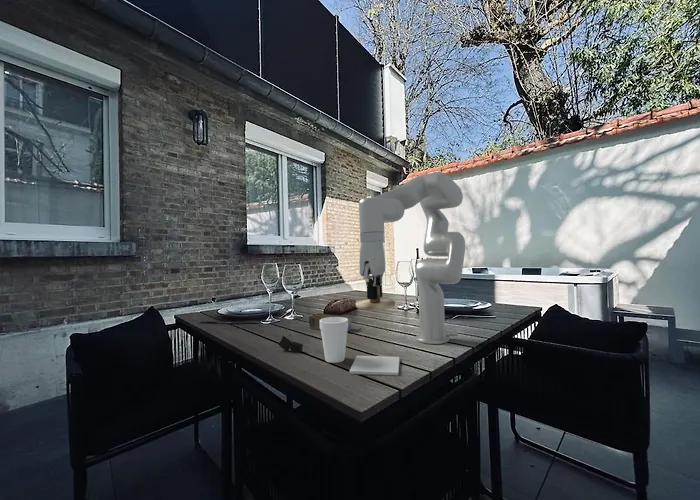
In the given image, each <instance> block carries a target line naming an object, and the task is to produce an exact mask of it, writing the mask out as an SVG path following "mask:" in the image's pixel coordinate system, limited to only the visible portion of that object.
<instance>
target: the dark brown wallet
mask: <svg viewBox="0 0 700 500" xmlns="http://www.w3.org/2000/svg"><path fill="white" fill-rule="evenodd" d="M277 345H278V346H279V347H280V348H282V349H283V351H285V352H288V351H289V350H290V351H292V352H293V353H296V354H297V353H302V352H303V347H304V344H303V343H301V342H295V341H294V340H293V339H292V334H290V333H286V334H283V335H282V338H281V339H280V341H279V343H278V344H277Z"/></svg>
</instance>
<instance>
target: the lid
mask: <svg viewBox="0 0 700 500" xmlns="http://www.w3.org/2000/svg"><path fill="white" fill-rule="evenodd" d="M377 295H378V299H376V300H374V299H362V300H359V301H356V302H355V308H357V309H361V310H362V309H363V310H384V309H391V308H394V307H395V306H396V302H395V301H394V300H392V299H386V298H385V299H383V298H381V297H380V286H377Z"/></svg>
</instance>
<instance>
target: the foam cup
mask: <svg viewBox="0 0 700 500" xmlns="http://www.w3.org/2000/svg"><path fill="white" fill-rule="evenodd" d="M320 329H321V330H320V334H321V340H322V346H323V353H324V359H325V362H327V363H332V364H335V363H336V364H337V363H342V362H343V361H344V360H345V358H346V348H347V339H348V331H347V329H348V319H347V318H343V317H329V318H323V319H321V320H320ZM345 361H346V360H345Z"/></svg>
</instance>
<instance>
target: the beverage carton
mask: <svg viewBox="0 0 700 500" xmlns="http://www.w3.org/2000/svg"><path fill="white" fill-rule="evenodd" d="M329 317H343V318H347V319H348V329H347V332H348V331H351V330H352V317H351V316H349V315H338V314H337V315H336V314H329V313H317V314H313V315H309V318H308V319H309V320H308V321H309V329H310V330H311V329H312V330H319V331H321V329H320V320H321V319H323V318H329Z"/></svg>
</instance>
